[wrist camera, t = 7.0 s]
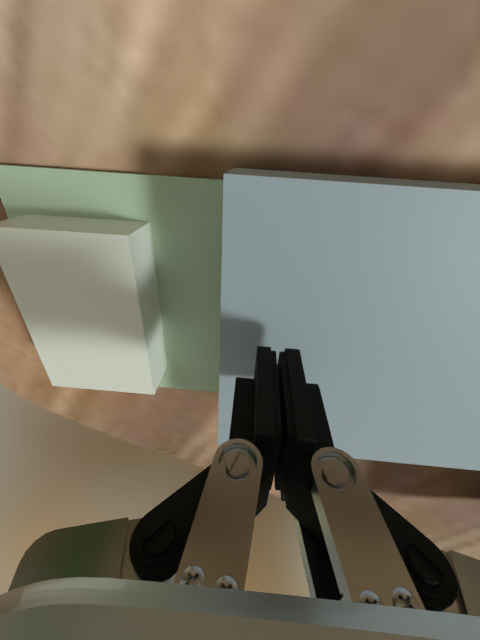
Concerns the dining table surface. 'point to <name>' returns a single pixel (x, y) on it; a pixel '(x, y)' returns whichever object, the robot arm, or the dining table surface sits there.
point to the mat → (168, 245)
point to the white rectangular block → (88, 299)
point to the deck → (360, 305)
